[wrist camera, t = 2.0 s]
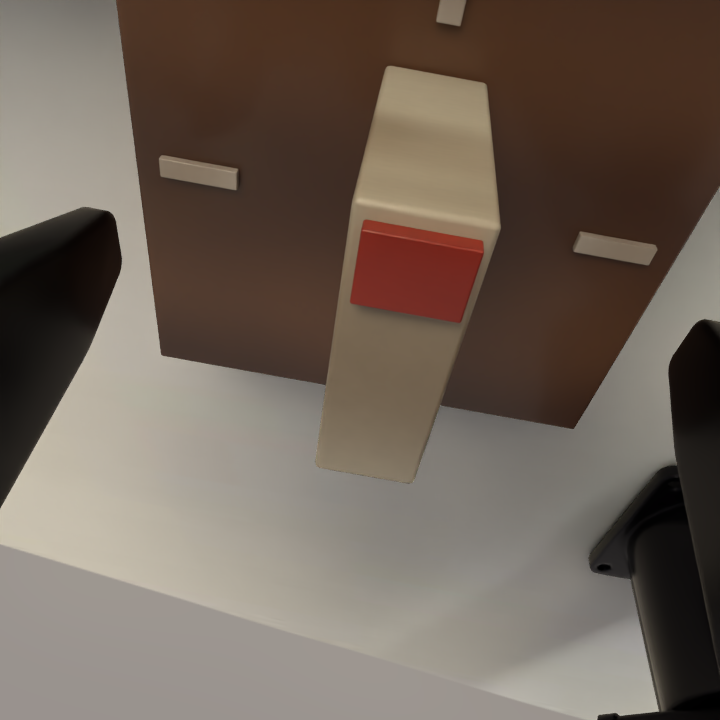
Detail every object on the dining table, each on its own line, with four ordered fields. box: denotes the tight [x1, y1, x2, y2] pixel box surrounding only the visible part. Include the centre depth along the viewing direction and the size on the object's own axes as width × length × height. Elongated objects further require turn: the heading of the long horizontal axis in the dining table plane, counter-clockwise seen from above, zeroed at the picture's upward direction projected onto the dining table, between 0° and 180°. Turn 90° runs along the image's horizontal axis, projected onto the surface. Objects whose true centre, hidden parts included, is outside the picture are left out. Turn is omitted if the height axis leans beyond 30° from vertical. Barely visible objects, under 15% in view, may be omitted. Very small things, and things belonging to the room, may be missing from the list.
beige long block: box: [315, 66, 501, 484], centre depth 9 cm, size 5×2×4 cm, turn 172°
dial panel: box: [116, 0, 720, 429], centre depth 12 cm, size 10×10×3 cm
